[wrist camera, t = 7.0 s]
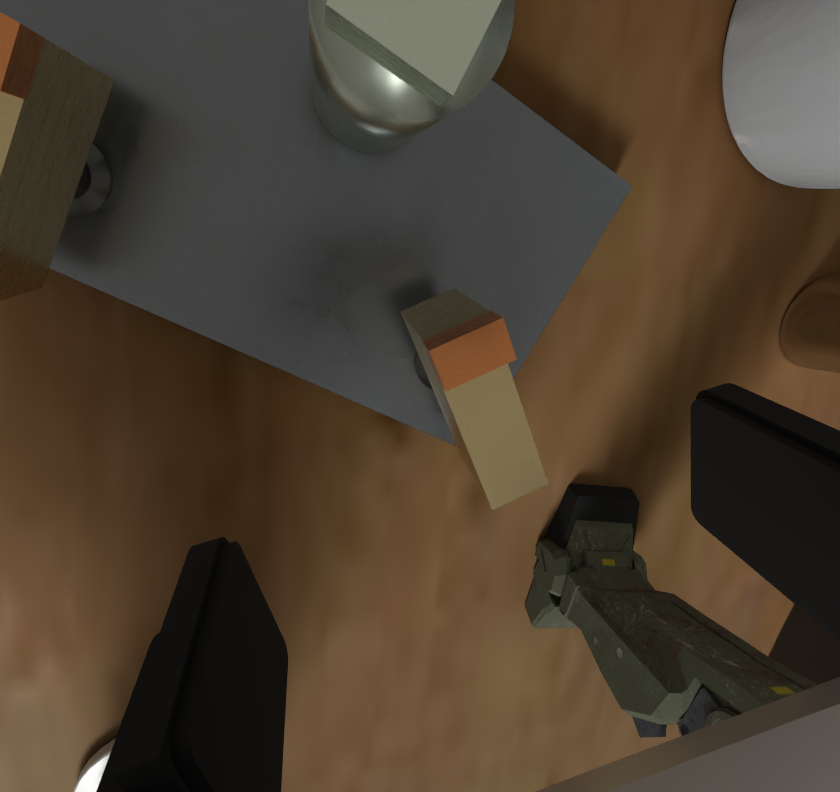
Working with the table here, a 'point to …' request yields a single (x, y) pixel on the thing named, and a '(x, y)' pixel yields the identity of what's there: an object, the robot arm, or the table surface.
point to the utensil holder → (785, 89)
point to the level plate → (322, 180)
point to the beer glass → (814, 326)
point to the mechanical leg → (644, 623)
